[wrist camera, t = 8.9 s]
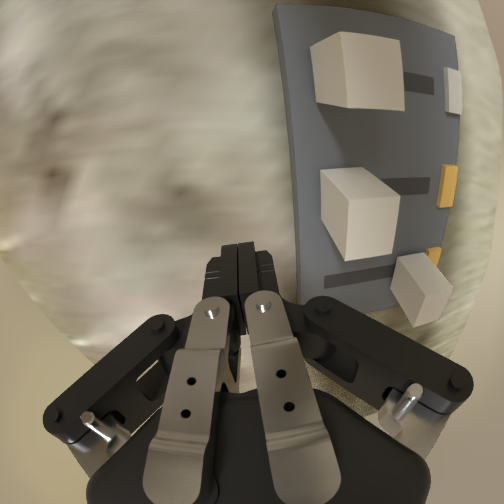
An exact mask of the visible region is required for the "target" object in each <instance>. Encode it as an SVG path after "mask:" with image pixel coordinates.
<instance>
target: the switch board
mask: <svg viewBox="0 0 504 504" xmlns="http://www.w3.org/2000/svg"><path fill="white" fill-rule="evenodd" d="M272 14H273V20H274V26H275V33H276V39H277V46H278V53H279V60H280V68H281V76H282V84H283V92H284V101H285V110H286V119H287V130H288V140H289V151H290V163H291V176H292V190H293V205H294V223H295V243H296V269H297V304H300V305H305V304H306V302H307V301H308V300H310V299H311V298H313V297H316V296H329V297H332V298H335V299H337V300H338V301H340V302H342V303H344V304H346V305H348V306H350V307H352V308H353V309H355V310H357V311H359V312H361V313H367V312H372V311H377V310H381V309H385V308H390V307H394V306H398V305H400V304H399V303H398V301H397V299H396V297H395V296H394V294H393V292H392V291H391V289H390V287H391V283H392V279H393V275H394V270H395V266H396V261H397V257H400V256H405V255H411V254H417V253H422V252H424V253H425V254H426V255H427V256H428V257H429V259H430V260H431V261H432V262H433V263H434V264H435V266H436V267H437V264H438V261H439V258H440V254H441V251H442V249H441V248H440V246H441V243H442V239H443V235H444V231H445V227H446V222H447V218H448V213H449V208H450V207H452V205H453V199H454V194H455V188H456V182H457V175H458V166H456V164H457V154H458V142H459V125H460V114H461V115H462V77H461V72H460V71H459V70H458V59H457V50H456V43H455V36H453V35H451V34H448V33H446V32H443V31H440V30H437V29H435V28H432V27H429V26H426V25H423V24H419V23H416V22H413V21H409V20H406V19H402V18H398V17H394V16H390V15H385V14H380V13H375V12H370V11H364V10H358V9H352V8H344V7H335V6H324V5H306V4H276V6H275V8H274V10H273V12H272ZM340 31H341V32H351V33H360V34H367V35H374V36H380V37H385V38H391V39H396V40H399V41H400V49H401V57H402V68H403V81H404V103H405V111H397V110H384V109H364V108H345V107H340V106H335V105H330V104H324V103H318V102H316V96H315V86H314V76H313V67H312V59H311V52H310V47H311V46H313V45H314V44H316V43H318V42H320V41H322V40H324V39H326V38H328V37H330V36H331V35H333V34H335V33H338V32H340ZM352 167H363V168H365V169H366V170H367V171H369V172H370V173H371V174H373V175H374V176H375V177H377V178H378V179H379V180H381V181H382V182H383V183H385V184H386V185H387V186H389V187H390V188H391V189H392V190H394V191H395V192H396V193H397V194H399V195H400V204H399V212H398V219H397V226H396V232H395V238H394V244H393V249H392V254H388V255H381V256H375V257H369V258H363V259H356V260H350V261H344V259H343V257H342V255H341V253H340V252H339V250H338V248H337V246H336V244H335V243H334V241H333V239H332V237H331V236H330V234H329V232H328V230H327V229H326V227H325V225H324V223H323V222H322V220H321V180H320V170H323V169H336V168H352Z"/></svg>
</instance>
